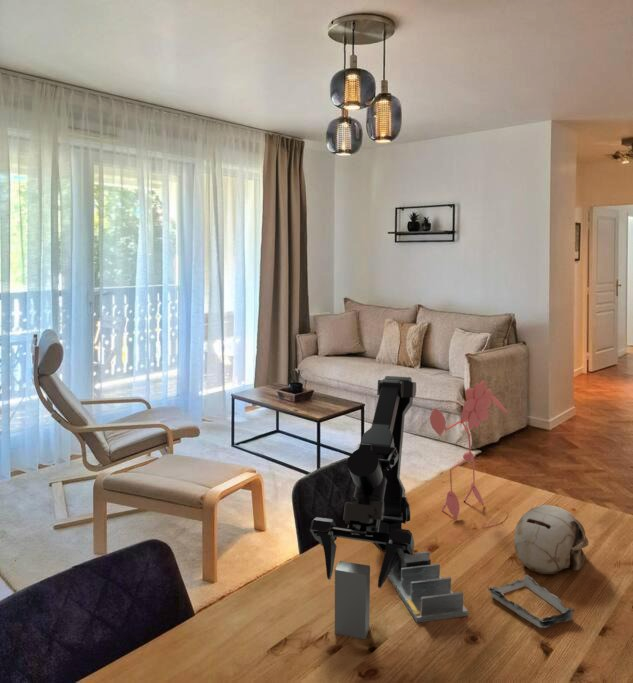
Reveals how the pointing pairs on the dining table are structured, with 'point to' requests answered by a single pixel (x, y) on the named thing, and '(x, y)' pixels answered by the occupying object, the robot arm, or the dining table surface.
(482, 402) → the figurine
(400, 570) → the rack
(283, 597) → the dining table surface
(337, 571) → the block
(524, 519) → the coin bank
